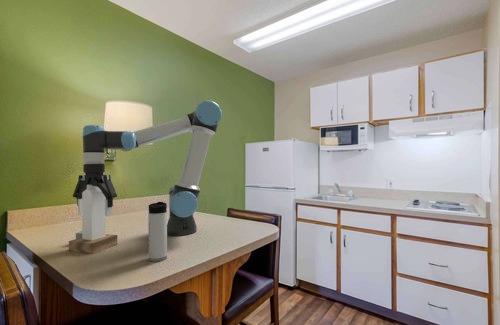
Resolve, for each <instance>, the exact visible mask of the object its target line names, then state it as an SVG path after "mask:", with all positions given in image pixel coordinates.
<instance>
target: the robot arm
mask: <svg viewBox="0 0 500 325" xmlns="http://www.w3.org/2000/svg"><path fill="white" fill-rule="evenodd" d="M195 108H196V109H195V110H194V111H192V112H190V113H188V114H187V113H186V114H185V116H183V117H181V118H177V119H174V120H171V121H167V122H163V123H160V124H157V125H152V126H150V127H149V126H148V127H146V128H141V129H139V130H135V131H127V130H125V131H124V130H123V131H122V130H121V131H119V130H118V131H117V130H115V131H113V130H110V131H109V130H105V127H104V126H102V125H95V124H88V125H84V126H83V129H82V135H81V136H82V147H83V148H82V162H83V165H82V166H83V168H82V169H83V170H82V172H83V173H84V174H79V175H78V181H77V184H75V185H76V186H75V189H74V191H73V193H72V197H73V198H75V199H76V202H77V203H76V204H77V205H76V206H77V211H78V214H77V215H78V216H82V192H84V191H85V190H86V189H87V185H92V186H97V187H99V189H100V190H101V191H102V193H103V194H104V196H105V197H106V199H105V216H106V217H108V216H112V214H113V208H112V207H113V206H114V203H113V202H114V199H115V198H117V197H118V194H117V192H116V189H115V187H114V184H113V182H112V180H111V174H104V173H106V169H105V168H106V166H105V150H120V151H123V152H129V151H131V150H133V149H137V148H139V147H143V146H146V145H149V144H153V143H156V142H160V141H163V140H166V139H170V138H172V137H176V136H178V135H179V136H180V135H183V134H185V133H191V134H192V135H191V139H190V142H189V145H188V148H187V152H186V157H185V161H184V164H183V167H182V169H181V170H182V171H181V175H180V178H179V181H177V182H176V183H174V186H170V187H169V189H168V190H169V191H168V194H169V195H168V197H169V200H168V201H169V203H168V204H169V205H168V206H169V207H168V208H169V210H168V211H169V217H168V219H167V236H177V237H178V236H187V235H192V234H194V233H196V232H197V230H198V227H197V223H196V220H195V217H194V214H195V212H196V211H197V209H198V207H199V204H198V203H199V200H198V199H199V196H200V192H201V188H200V186H199V184H200V180H201V176H202V173H203V168H204V166H205V161H206V158H207V154H208V150H209V146H210V142H211V140H212V137H213V136H214V135H216V133H217V129H218V126H219V124H220V122H221V120H222V117H223V112H222V108H221V107H220V105H219V104H218V103H216V102H215V101H214V100H203V101H202V102H200V103H199V104H197V106H196V107H195Z"/></svg>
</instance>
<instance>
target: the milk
mask: <svg viewBox="0 0 500 325" xmlns="http://www.w3.org/2000/svg"><path fill="white" fill-rule="evenodd" d="M105 199H106V197H105V196H104V194H103V193H102V191H101V190H100V189H99V187H97V186H92V185H87V189H86V190H85V191H84V192H82V215H81V216H82V217H81V219H82V220H81V223H82V224H81V227H82V229H81V231H82V239H85V240H91V241H92V240H96V239H99V238H103V237H106V234H107V233H106V232H107V231H106V229H107V228H106V227H107V226H106V222H107V221H106V220H107V219H106V217H107V216H105Z"/></svg>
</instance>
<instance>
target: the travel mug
mask: <svg viewBox="0 0 500 325" xmlns="http://www.w3.org/2000/svg"><path fill="white" fill-rule="evenodd" d="M167 205H168V204H167V203H166V202H163V201H157V202H153V203H150V204H149V205H148V260H149V261H150V262H153V263H155V262H161V261H162V262H163V261H164V260H167V258H168V234H167V223H168V210H167V209H168V208H167V207H168V206H167Z"/></svg>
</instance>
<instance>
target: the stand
mask: <svg viewBox="0 0 500 325" xmlns="http://www.w3.org/2000/svg"><path fill="white" fill-rule="evenodd" d="M117 245H118V234H109V233H106V237H103V238H99V239H96V240H92V241H91V240H85V239H82V237H81V238H78V239H76V238H75V239H72V240H69V241H68V252H72V253H78V254H79V253H81V254H91V255H94V254H97V253H100V252H102V251H104V250H107V249H110V248H112V247H114V246H117Z"/></svg>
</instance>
